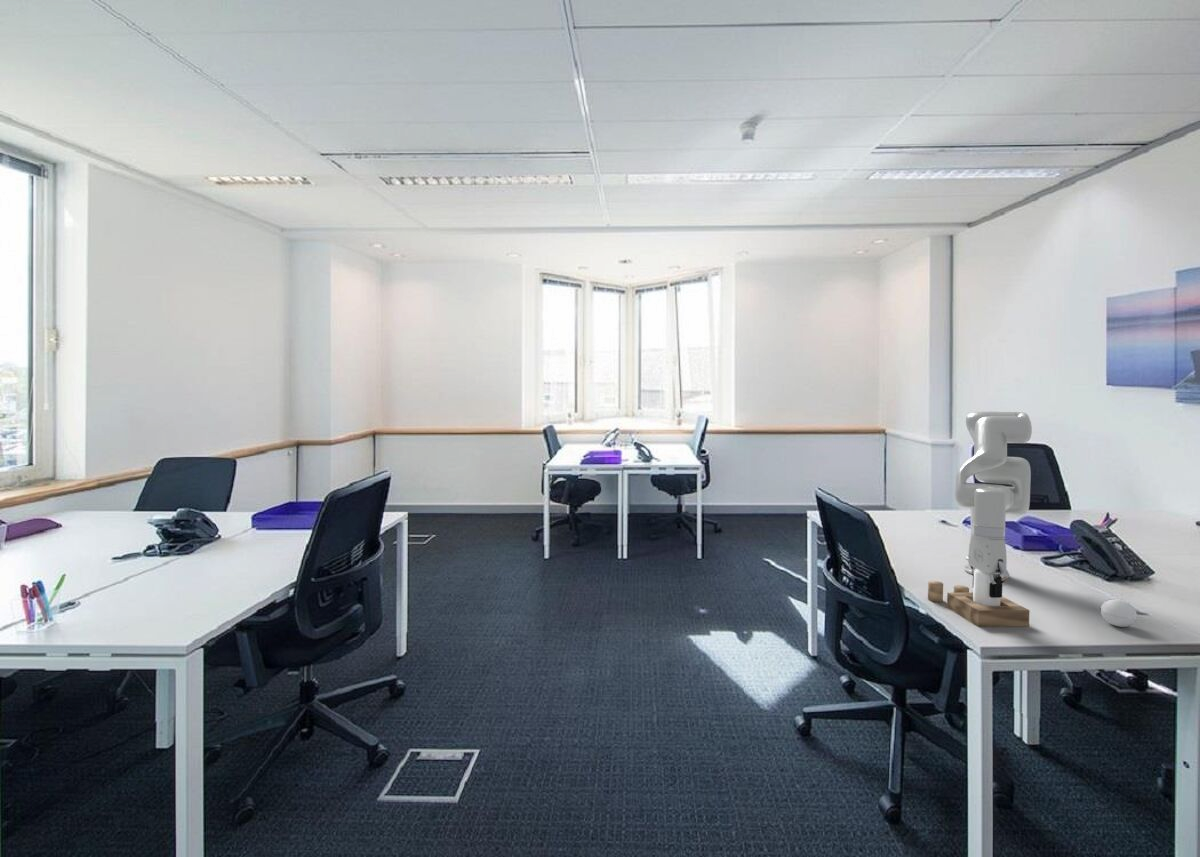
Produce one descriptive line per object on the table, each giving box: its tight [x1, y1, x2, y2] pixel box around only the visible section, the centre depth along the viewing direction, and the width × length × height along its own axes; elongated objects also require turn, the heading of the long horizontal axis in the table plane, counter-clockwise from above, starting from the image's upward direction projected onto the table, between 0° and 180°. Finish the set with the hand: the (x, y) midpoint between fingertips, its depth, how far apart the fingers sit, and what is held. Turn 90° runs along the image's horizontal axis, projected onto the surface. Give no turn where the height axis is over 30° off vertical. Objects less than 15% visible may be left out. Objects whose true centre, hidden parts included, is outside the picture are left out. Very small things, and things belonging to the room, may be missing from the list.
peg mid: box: [927, 580, 944, 603], centre depth 174 cm, size 4×4×6 cm
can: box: [972, 568, 1001, 606], centre depth 160 cm, size 6×6×12 cm
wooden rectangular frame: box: [946, 591, 1031, 627], centre depth 161 cm, size 14×14×4 cm
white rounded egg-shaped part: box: [1100, 598, 1138, 628], centre depth 153 cm, size 10×7×7 cm
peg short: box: [953, 584, 970, 593], centre depth 174 cm, size 4×4×4 cm
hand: (986, 592), depth 160 cm, fingers closed on can, 6 cm apart
